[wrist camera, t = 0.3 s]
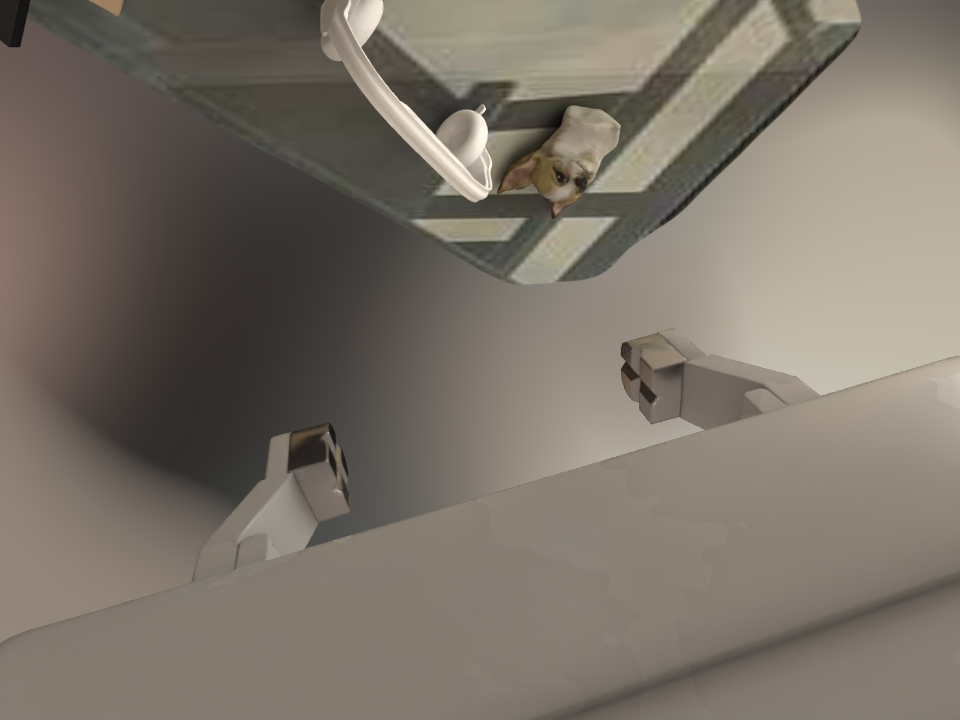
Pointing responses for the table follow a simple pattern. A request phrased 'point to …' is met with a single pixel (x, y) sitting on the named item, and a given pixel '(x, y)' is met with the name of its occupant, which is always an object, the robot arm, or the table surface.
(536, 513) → the robot arm
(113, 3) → the laptop
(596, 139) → the ceramic sculpture
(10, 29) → the laptop screen
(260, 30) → the table surface
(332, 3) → the headset
